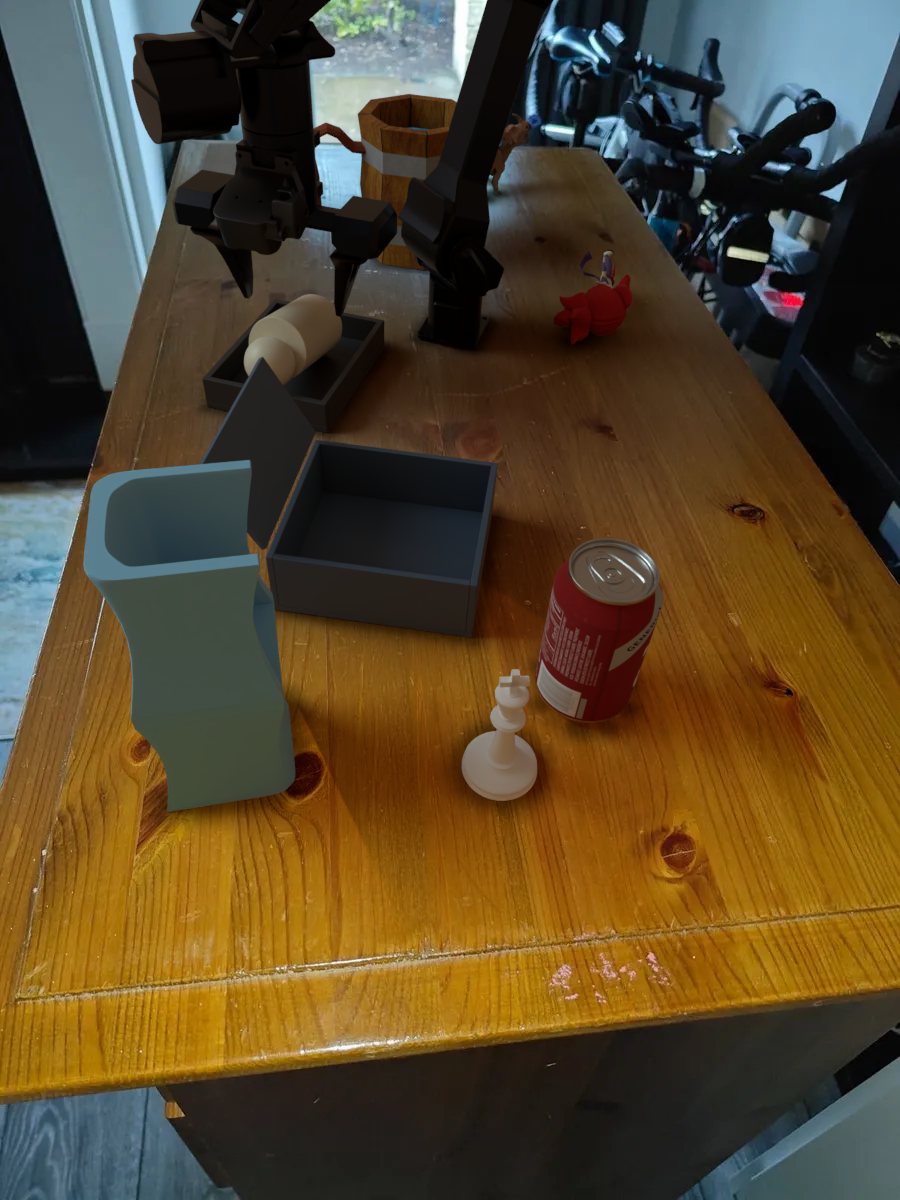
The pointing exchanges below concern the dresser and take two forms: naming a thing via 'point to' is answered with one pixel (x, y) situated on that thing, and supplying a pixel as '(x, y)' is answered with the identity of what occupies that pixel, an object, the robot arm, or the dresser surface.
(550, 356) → the dresser surface
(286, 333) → the duck
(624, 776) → the dresser surface
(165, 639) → the vase
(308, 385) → the tray
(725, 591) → the dresser surface
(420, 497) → the dark square open box
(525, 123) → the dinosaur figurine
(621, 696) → the soda can
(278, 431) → the flap
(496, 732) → the chess piece
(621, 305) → the figurine
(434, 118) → the mug
